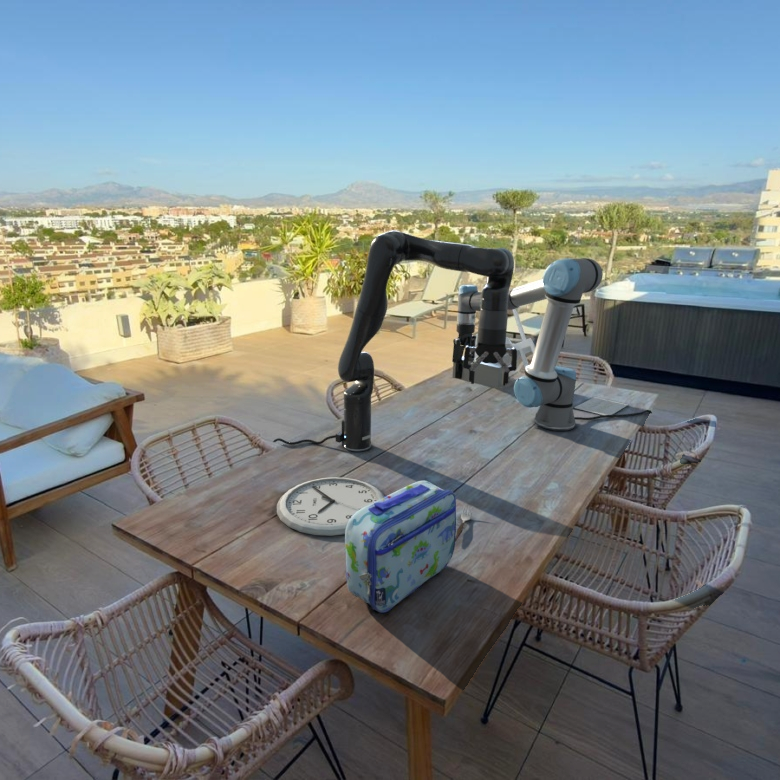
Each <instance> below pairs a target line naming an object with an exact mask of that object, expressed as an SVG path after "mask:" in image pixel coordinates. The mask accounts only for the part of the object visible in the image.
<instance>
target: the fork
mask: <svg viewBox="0 0 780 780" xmlns="http://www.w3.org/2000/svg"><path fill="white" fill-rule="evenodd" d="M468 505H469V504H468ZM468 505H467V506H466V505H464V506H463V508H462V512H461V516H460V519H461V520H462V522H461V523H460V525H459V526H458V528H457V529H456V535H455V543H456V542H457V540H458V539H459V537H460V535H461V534H462V532H463V529H464V525H465V522H467V521H470V520H471V519H472V515H473V508H474V506H473V505H472V507H471V506H469V507H468ZM470 510H471V511H470Z"/></svg>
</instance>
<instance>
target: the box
mask: <svg viewBox="0 0 780 780" xmlns="http://www.w3.org/2000/svg"><path fill="white" fill-rule="evenodd" d="M474 360H475V358H470V357H469V360H468V363H469V364H472V363H473V361H474ZM463 361H464V355H463V356H462V361H461V364H462V375H461V379H458V378H455V366H456V364H455V363H453V362H452V377H451V378H452V379H456V380H461V381H464V382H468V383H471V382H470V381H469V369H466V368H464V367H463ZM474 370H475V374H474V384H476V385H480V386H485V387H489V388H493V389H496V390H497V389H501V388H503V387H504V386H503V385H502V379H503V371H504V369H503V368H502V366H501V365H500V364H498V363H496V364H493V363H484V362H481V363H480V364H479V365H478V366H477V367H476V368H475V369H474Z"/></svg>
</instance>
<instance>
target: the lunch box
mask: <svg viewBox="0 0 780 780" xmlns="http://www.w3.org/2000/svg"><path fill="white" fill-rule="evenodd" d="M456 534H457V499H456V495H455V493H454V492H453V490H450V489H442V488H440V487H439V486H437V485H435V484H433V483H432V482H430V481H428V480H418V481H416V482H413V483H410V484H409V485H406V486H405V487H402V488H400V489H398V490H396V491H394V492H392V493H390V494H388V495H385V497H384V498H382V499H380V500H378V501H376V502H374V503H372V504H370V505H368V506H366V507H364V508H362V509H360V510H358V511H357V512H355V513H354V514H353V515H352V517H351V518H350V520H349V522H348V524H347V527H346V531H345V534H344V552H345V577H346V578H345V580H346V586H347V589H348V592H349V593H350V594H352V595H354V596H356V597H357V598H359V599H361V600H363V602H365V603H367V604H368V605H370V607H371V608H372V609H373V610H375V611H376V612H378V613H380V614H382V613H383V614H385V613H387V612H389V611H391V609H393V608H394V607H395V606H396V605H397V604H400V602H401V601H402V600H404V599H406V597H409V596H410V595H411V594H412V593H414V592H415V591H416V590H417V589H418V588H420V587H421V586H422V585H423V584H424V583H425V582H427V581H428V580H430V579H432V578H433V577H434V576H436V575H437V574H439V573H441V572H442V571H443V570H445V568H446V567H447V566H448V564H449V563H450V561H451V560H452V557H453V554H454V551H455V548H456V547H455V546H456V542H455V538H456Z"/></svg>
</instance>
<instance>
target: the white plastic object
mask: <svg viewBox="0 0 780 780" xmlns="http://www.w3.org/2000/svg"><path fill="white" fill-rule="evenodd" d="M512 314H513V317H514V320H515V322H516V326H517V328H518V333H519V335H520V338H521V341H519V342H516V343H513V342H512V341H511V339H510V338H509V337H508V336H506V343H505V347H506V348H513V347H515V348H516V350H517V360H519V359H520V358H521V361H522V364H523V367H524V369H525V368H526V366H528V365H529V362H528V358H527V354H529V353H532V356H533V355H534V351H535V347H536V344H535V343H534V341H533V339H532V338H531V337H529V338H527V337H526V334H525V331H524V327H523V325H522V322H521V318H520V315H519V313H518V311H517V308H516V309H512ZM475 336H476V341H475V347H476V345H477V337H478V333H475ZM477 356H478V355H477V354H476V352H475V359H476V358H477ZM502 358H503V360H504V361H505V363H506V364H507V366H510V365H511V356H509V353H507V352H506V354H505V355H504V356H503V357H502ZM498 364H500V363H499V362H498Z"/></svg>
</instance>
